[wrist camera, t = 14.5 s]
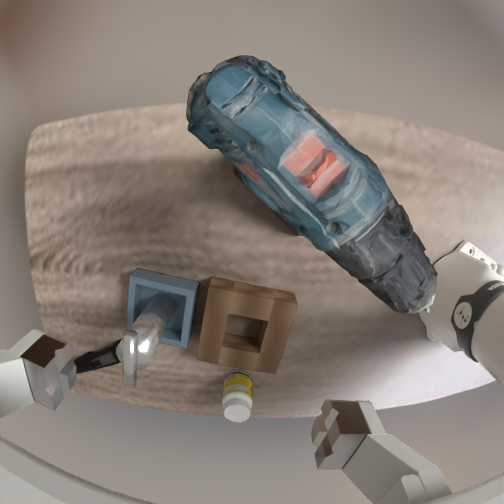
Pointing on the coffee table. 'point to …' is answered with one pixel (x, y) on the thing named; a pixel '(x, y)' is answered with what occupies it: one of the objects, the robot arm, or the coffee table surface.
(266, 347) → the square wooden frame
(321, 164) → the power drill
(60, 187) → the coffee table surface
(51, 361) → the robot arm
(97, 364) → the electric trimmer
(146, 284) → the blue square tray
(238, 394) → the supplement bottle
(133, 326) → the silver elongated piece
